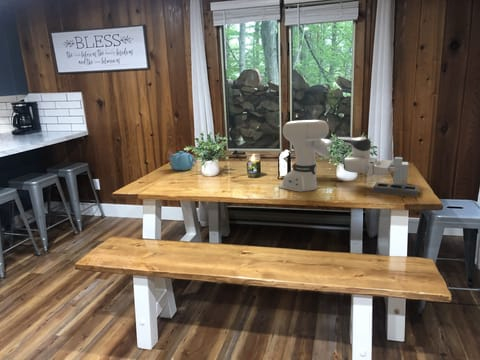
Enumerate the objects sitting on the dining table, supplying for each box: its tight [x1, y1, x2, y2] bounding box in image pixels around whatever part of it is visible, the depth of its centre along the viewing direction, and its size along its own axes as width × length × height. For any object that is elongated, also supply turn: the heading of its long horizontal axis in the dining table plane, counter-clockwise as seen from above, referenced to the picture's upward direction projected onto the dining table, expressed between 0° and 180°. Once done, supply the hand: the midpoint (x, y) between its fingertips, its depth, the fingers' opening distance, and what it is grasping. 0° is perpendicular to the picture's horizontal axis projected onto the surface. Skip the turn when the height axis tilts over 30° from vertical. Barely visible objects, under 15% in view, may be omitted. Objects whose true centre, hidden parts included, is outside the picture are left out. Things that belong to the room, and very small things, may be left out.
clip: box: [392, 156, 403, 183], centre depth 208 cm, size 4×4×13 cm
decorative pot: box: [168, 150, 196, 172], centre depth 280 cm, size 16×16×14 cm
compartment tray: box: [372, 182, 420, 198], centre depth 210 cm, size 22×10×3 cm, turn 61°
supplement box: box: [392, 161, 409, 185], centre depth 222 cm, size 7×7×13 cm
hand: (399, 168), depth 207 cm, fingers closed on clip, 4 cm apart
